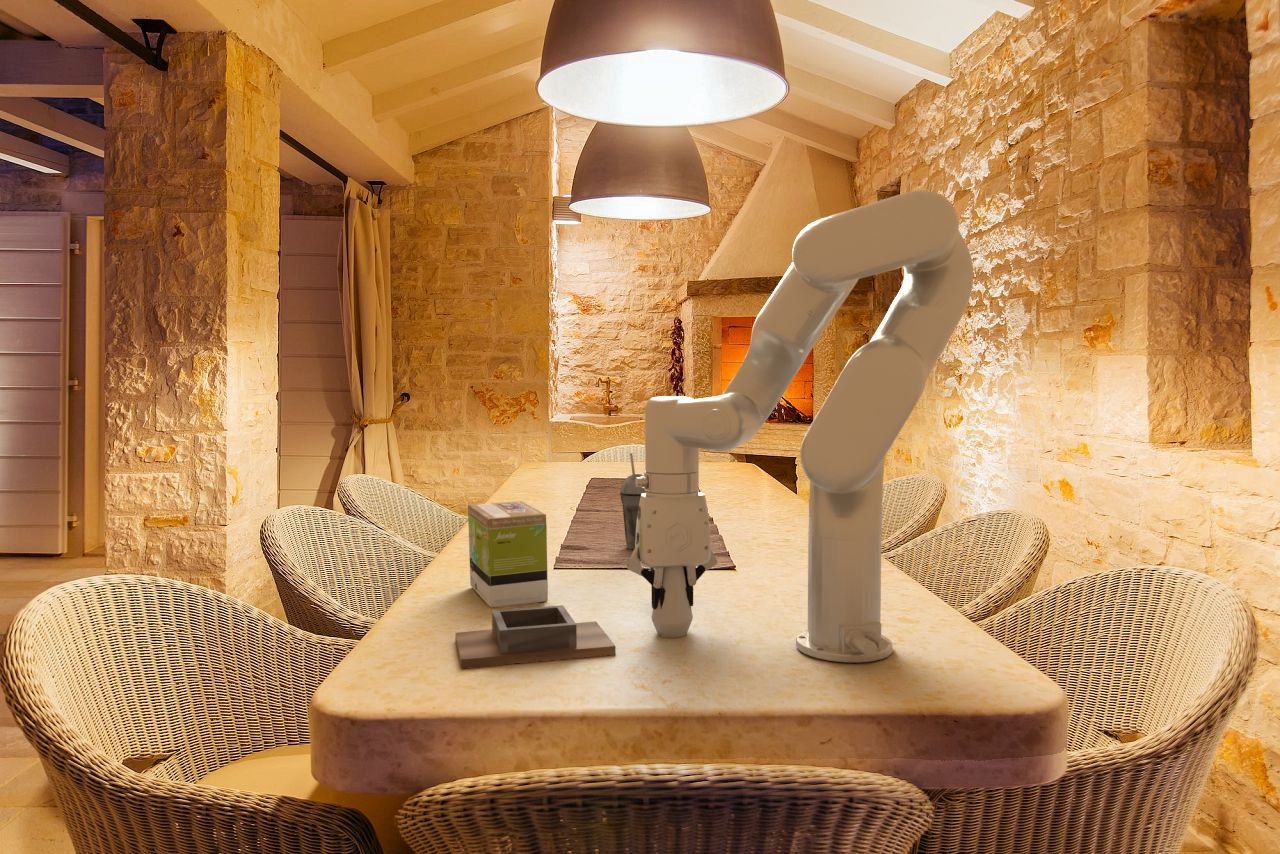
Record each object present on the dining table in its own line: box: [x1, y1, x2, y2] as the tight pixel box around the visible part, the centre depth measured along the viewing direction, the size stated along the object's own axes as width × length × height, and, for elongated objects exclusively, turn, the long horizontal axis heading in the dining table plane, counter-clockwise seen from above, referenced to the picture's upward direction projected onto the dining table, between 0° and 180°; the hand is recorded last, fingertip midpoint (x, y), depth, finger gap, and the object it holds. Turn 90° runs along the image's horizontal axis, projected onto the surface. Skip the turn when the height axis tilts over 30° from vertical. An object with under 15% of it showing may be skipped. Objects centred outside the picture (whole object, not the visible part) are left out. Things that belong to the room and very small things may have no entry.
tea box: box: [467, 500, 549, 609], centre depth 150 cm, size 15×10×15 cm, turn 23°
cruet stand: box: [454, 604, 617, 669], centre depth 122 cm, size 12×20×4 cm, turn 105°
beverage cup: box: [619, 452, 646, 551], centre depth 189 cm, size 7×7×20 cm
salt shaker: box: [651, 566, 694, 639], centre depth 127 cm, size 6×6×13 cm
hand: (672, 611), depth 128 cm, fingers closed on salt shaker, 3 cm apart
